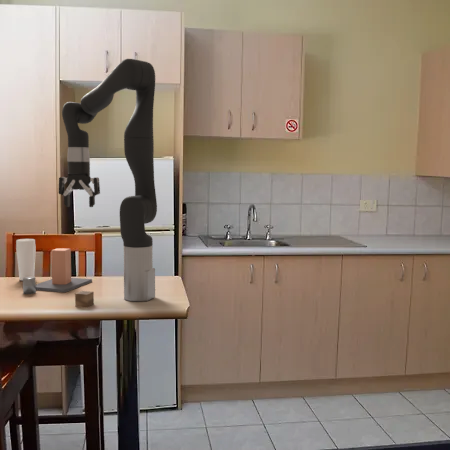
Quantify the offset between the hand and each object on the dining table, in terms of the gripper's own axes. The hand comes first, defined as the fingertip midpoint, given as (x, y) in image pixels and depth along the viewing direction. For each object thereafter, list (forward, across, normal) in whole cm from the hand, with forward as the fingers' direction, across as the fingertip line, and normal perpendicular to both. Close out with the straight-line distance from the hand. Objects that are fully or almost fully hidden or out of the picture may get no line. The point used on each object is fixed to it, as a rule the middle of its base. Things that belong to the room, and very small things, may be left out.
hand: (79, 206), depth 193 cm
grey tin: (+28, +13, +14) cm, 34 cm away
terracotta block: (+27, +6, +2) cm, 28 cm away
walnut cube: (+28, -11, +27) cm, 41 cm away
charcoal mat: (+28, +6, +2) cm, 29 cm away
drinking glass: (+28, +23, -6) cm, 37 cm away
